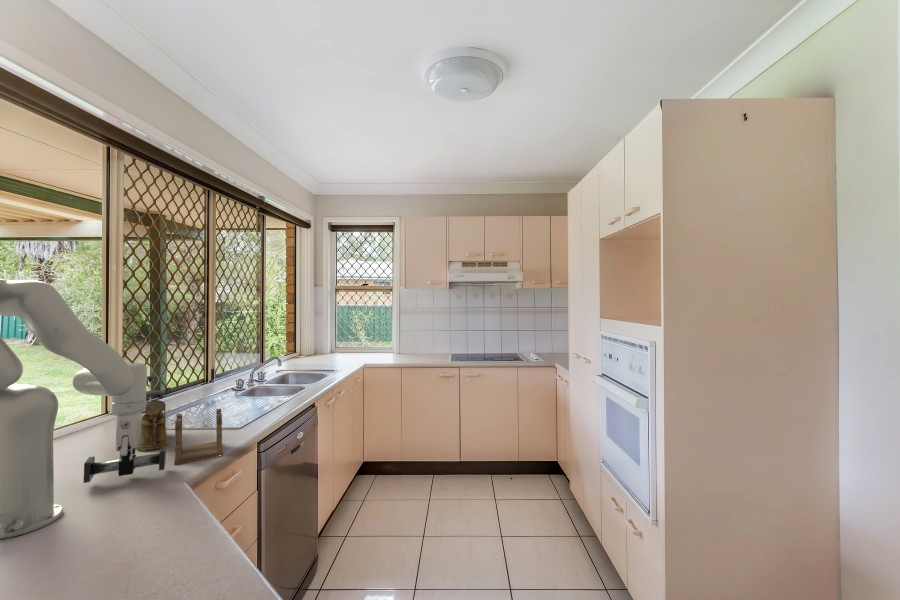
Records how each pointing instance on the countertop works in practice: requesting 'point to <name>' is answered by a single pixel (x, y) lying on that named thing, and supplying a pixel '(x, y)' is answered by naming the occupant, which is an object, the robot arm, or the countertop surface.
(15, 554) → the countertop surface
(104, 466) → the hanging bar
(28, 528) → the robot arm
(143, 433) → the brown carved statue
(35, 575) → the countertop surface
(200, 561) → the countertop surface
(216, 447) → the hanging rack
